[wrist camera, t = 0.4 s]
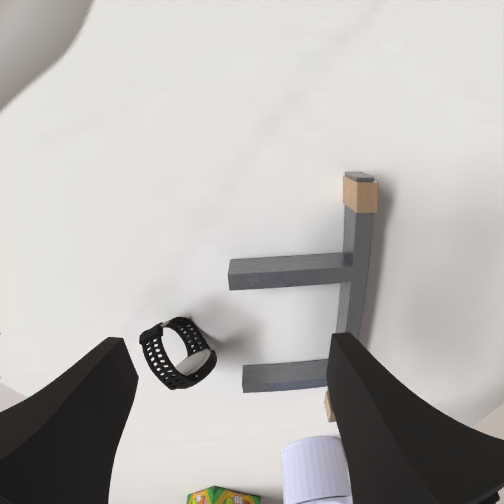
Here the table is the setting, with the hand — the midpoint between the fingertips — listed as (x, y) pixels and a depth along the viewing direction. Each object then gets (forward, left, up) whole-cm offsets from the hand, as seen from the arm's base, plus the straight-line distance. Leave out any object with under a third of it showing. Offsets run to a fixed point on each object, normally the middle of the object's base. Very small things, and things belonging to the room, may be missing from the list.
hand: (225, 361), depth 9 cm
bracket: (-5, -4, -9) cm, 11 cm away
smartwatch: (-5, +4, -9) cm, 11 cm away
